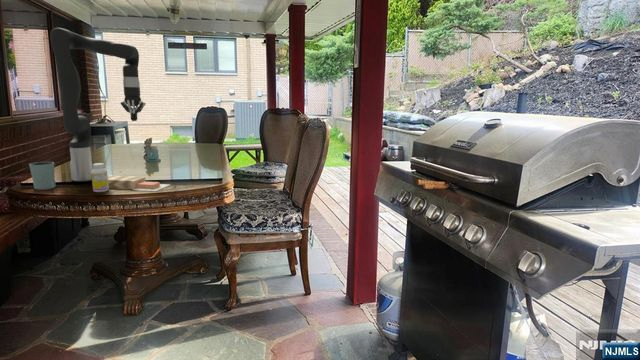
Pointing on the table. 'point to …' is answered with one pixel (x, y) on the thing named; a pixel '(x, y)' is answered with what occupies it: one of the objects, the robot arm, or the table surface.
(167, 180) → the table surface
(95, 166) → the supplement bottle
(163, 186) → the mat
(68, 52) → the robot arm
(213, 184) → the table surface
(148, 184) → the orange brown flat block
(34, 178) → the pale teal cup
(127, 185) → the deck
